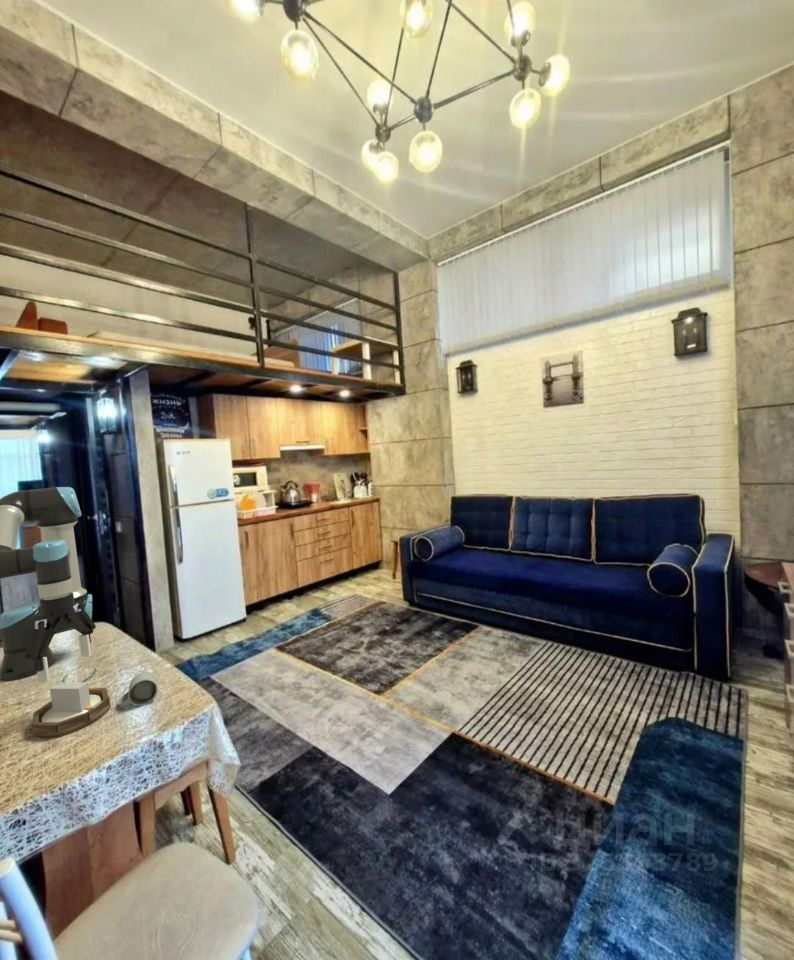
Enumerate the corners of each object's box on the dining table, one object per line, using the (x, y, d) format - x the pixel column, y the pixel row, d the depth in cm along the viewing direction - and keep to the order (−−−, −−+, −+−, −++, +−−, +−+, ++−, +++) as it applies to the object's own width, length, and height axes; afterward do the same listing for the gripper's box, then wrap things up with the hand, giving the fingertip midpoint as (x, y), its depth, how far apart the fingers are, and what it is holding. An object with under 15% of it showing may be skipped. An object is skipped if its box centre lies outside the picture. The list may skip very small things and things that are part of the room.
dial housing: (34, 716, 124) (32, 704, 124) (107, 691, 135) (106, 679, 135) (30, 748, 110) (28, 734, 110) (113, 717, 121) (111, 704, 121)
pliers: (96, 665, 152) (97, 689, 136) (96, 668, 152) (97, 691, 136) (62, 675, 146) (58, 701, 130) (62, 678, 146) (59, 704, 130)
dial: (28, 727, 117) (24, 699, 116) (71, 697, 130) (68, 672, 129) (73, 727, 115) (69, 699, 114) (112, 697, 128) (109, 672, 128)
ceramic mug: (157, 688, 135) (154, 665, 134) (159, 700, 128) (155, 676, 127) (118, 701, 129) (114, 677, 129) (117, 714, 123) (113, 689, 122)
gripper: (82, 581, 132) (90, 647, 134) (-2, 613, 108) (10, 693, 109) (104, 581, 131) (112, 646, 133) (25, 612, 107) (36, 693, 108)
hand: (66, 667), depth 121 cm, fingers open, 13 cm apart
